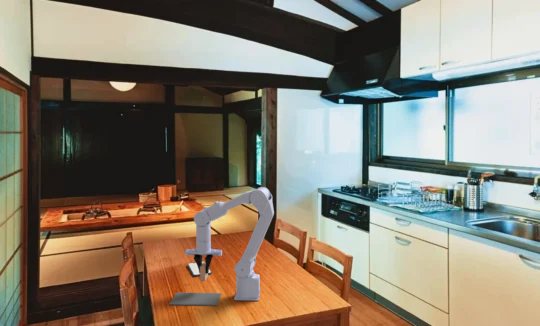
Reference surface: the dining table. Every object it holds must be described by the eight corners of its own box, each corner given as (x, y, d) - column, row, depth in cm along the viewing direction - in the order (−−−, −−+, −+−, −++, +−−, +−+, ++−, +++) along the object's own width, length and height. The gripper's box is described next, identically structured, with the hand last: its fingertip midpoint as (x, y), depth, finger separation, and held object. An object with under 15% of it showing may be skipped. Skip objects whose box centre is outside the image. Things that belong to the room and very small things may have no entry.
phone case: (212, 275, 167) (204, 264, 182) (212, 272, 167) (204, 260, 181) (193, 278, 163) (186, 266, 178) (193, 275, 163) (186, 263, 178)
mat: (221, 294, 146) (221, 293, 146) (216, 305, 136) (216, 304, 136) (176, 293, 146) (176, 292, 146) (169, 305, 136) (169, 303, 136)
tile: (207, 276, 149) (207, 262, 149) (205, 281, 144) (204, 266, 144) (203, 276, 149) (202, 262, 149) (200, 281, 144) (200, 266, 144)
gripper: (223, 237, 149) (223, 269, 150) (188, 236, 150) (189, 268, 151) (220, 242, 142) (220, 275, 143) (183, 241, 143) (184, 275, 144)
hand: (204, 272), depth 147 cm, fingers closed on tile, 2 cm apart
